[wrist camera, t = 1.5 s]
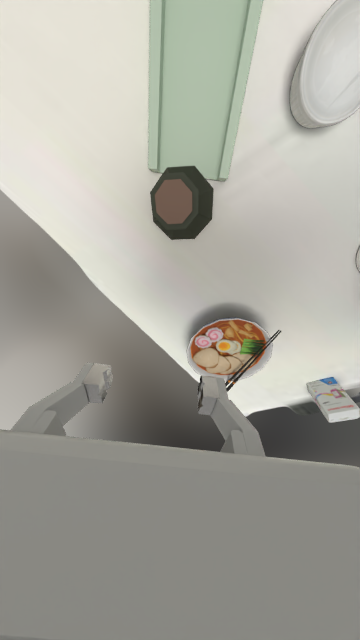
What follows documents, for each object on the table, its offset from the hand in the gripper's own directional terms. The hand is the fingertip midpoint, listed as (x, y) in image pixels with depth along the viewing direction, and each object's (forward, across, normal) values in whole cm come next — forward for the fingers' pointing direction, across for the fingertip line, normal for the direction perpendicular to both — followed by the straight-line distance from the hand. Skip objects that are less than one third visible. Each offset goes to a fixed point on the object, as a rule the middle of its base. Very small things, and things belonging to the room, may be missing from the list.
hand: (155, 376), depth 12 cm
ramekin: (+36, -19, -28) cm, 49 cm away
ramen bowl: (+36, -16, +22) cm, 45 cm away
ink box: (+36, -54, +37) cm, 75 cm away
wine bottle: (+36, 0, -10) cm, 37 cm away
